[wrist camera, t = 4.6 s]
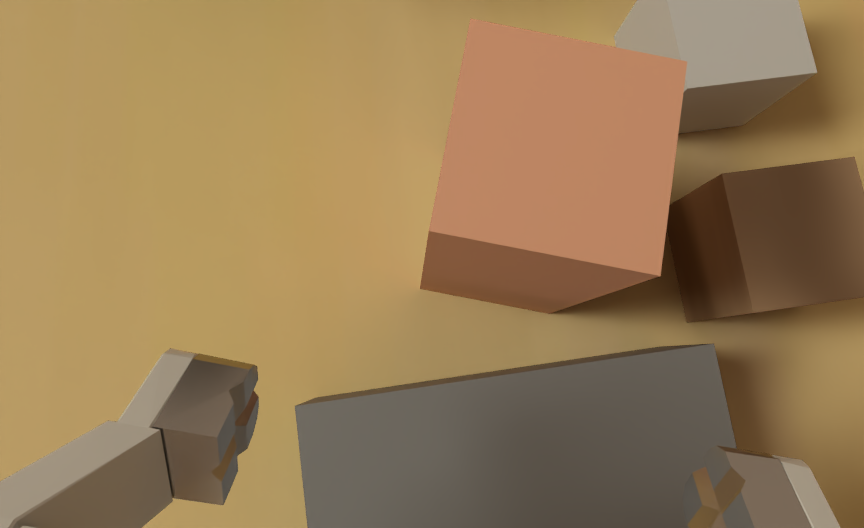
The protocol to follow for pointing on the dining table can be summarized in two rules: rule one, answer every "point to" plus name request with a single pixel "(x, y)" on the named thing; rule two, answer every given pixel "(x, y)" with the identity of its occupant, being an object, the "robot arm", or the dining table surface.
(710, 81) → the grey plastic block
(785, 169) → the walnut block
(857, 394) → the dining table surface
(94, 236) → the dining table surface
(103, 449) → the robot arm
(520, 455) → the block
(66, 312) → the dining table surface
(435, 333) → the dining table surface
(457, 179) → the terracotta block
